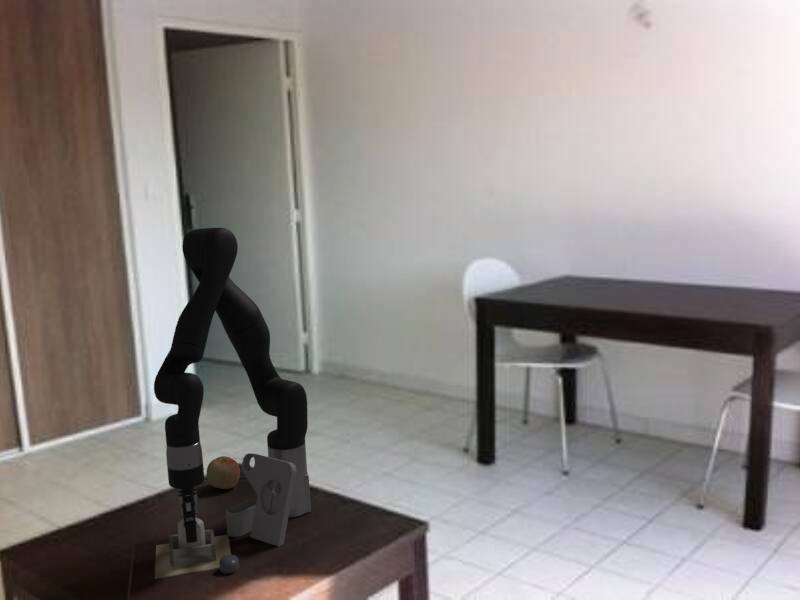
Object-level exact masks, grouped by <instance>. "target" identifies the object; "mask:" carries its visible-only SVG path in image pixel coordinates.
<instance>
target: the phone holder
mask: <svg viewBox="0 0 800 600" xmlns="http://www.w3.org/2000/svg"><path fill="white" fill-rule="evenodd" d="M252 458H253V459H254V464H253V468H252V467H251V464H250V463H251V460H252ZM241 471H242V472H243V474H244V476H245V478H246V479H247V481H248V483H249V485H251V487H252V489H253V490H254V492H255V493H256V496H257V497H256V498H249V499H245V500H244V501H241V502H240V503H237V504H234V505H233V506H230V507H228V508H227V509H226V510H225V519H226V520H225V521H226V533H227V534H226V535H228V537H233V538H236V537H237V538H238V537H241V536H244V535H246V534H249V533H250V535H249V536H250V537H249V538H252V539H255V540H258V541H261V542H263V543H265V544H270V545H274V546H277V547H280V546H283V545H284V543H285V539H286V534H287V533H286V532H287V527H288V521H289V518H290V517H289V512H290V506H291V501H292V495H293V490H294V484H295V479H296V473H297V470H296V466H295V465H294V464H293V463H291V462H287V461H283V460H279V459H275V458H271V457H268V456H266V455H261V454H257V453H246V454H245V455H244V457H243V458H242V461H241ZM277 482H279V483H280V484H281V492H280V494H279V495H276V494H275V493H274V485H275V484H276V483H277Z"/></svg>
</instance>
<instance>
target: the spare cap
mask: <svg viewBox="0 0 800 600" xmlns="http://www.w3.org/2000/svg"><path fill="white" fill-rule="evenodd" d="M239 570H240V559H239V558H238V556H236V554H235V555H234V554H231V555H226V556H224V557H222V558H221V560H220V569H219V571H220V572H221V573H222V574H225V575H228V574H234V573H236V572H238V571H239Z"/></svg>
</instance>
